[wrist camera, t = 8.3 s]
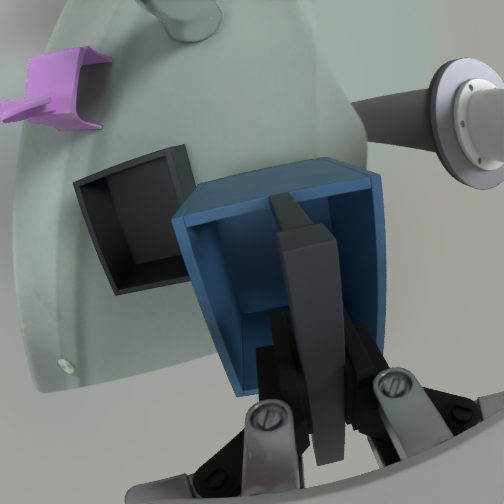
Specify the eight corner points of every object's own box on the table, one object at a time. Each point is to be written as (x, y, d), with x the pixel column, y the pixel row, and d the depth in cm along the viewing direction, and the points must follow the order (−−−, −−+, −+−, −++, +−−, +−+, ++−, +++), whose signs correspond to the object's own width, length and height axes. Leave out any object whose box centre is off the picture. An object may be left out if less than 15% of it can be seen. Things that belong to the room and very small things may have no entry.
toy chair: (120, 54, 24) (44, 15, 10) (110, 129, 27) (23, 136, 14) (61, 62, 23) (-24, 43, 9) (52, 131, 27) (-38, 145, 13)
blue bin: (326, 156, 18) (466, 210, 6) (343, 293, 22) (417, 434, 10) (198, 183, 18) (121, 285, 6) (236, 317, 22) (236, 478, 10)
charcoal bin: (184, 144, 29) (169, 147, 22) (213, 250, 33) (207, 277, 27) (101, 171, 29) (72, 182, 23) (134, 268, 34) (115, 296, 28)
